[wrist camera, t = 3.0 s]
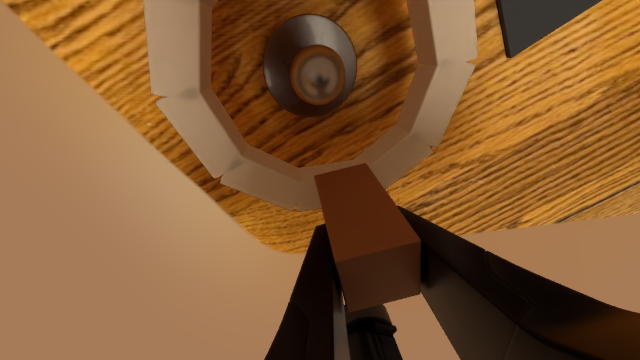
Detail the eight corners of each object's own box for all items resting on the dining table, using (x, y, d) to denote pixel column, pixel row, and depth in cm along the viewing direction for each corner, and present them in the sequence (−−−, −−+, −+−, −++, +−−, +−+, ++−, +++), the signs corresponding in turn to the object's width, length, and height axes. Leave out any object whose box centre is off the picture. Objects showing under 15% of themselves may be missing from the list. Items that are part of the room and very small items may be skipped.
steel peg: (325, 129, 15) (339, 158, 11) (248, 87, 13) (234, 104, 10) (371, 51, 13) (408, 54, 10) (290, -9, 12) (295, -37, 8)
